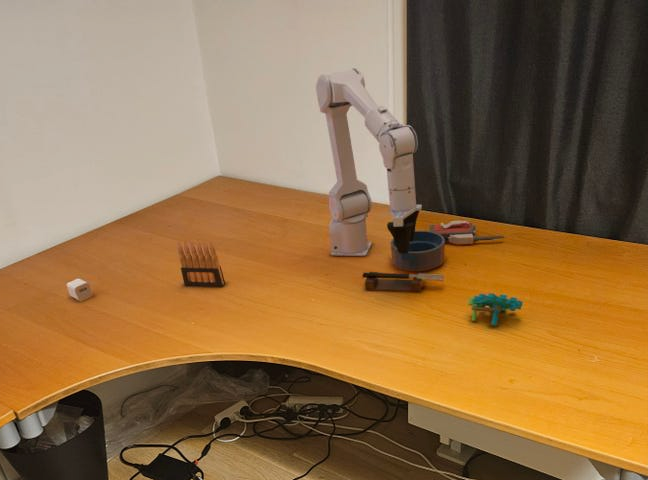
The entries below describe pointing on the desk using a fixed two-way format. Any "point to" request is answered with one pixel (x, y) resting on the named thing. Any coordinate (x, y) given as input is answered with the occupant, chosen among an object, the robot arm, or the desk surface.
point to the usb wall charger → (79, 289)
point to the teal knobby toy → (493, 305)
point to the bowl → (420, 252)
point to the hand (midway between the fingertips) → (406, 246)
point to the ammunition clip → (200, 266)
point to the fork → (405, 276)
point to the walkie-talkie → (459, 232)
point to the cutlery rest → (393, 284)
